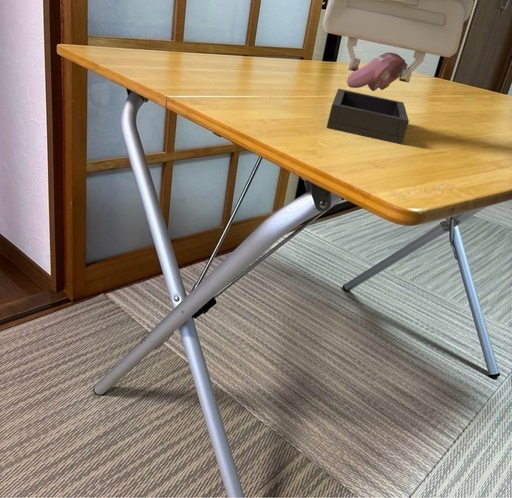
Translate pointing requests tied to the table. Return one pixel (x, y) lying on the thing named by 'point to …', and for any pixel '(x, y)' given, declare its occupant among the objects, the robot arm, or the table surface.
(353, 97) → the open box
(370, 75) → the video game controller
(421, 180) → the table surface
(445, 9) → the robot arm
